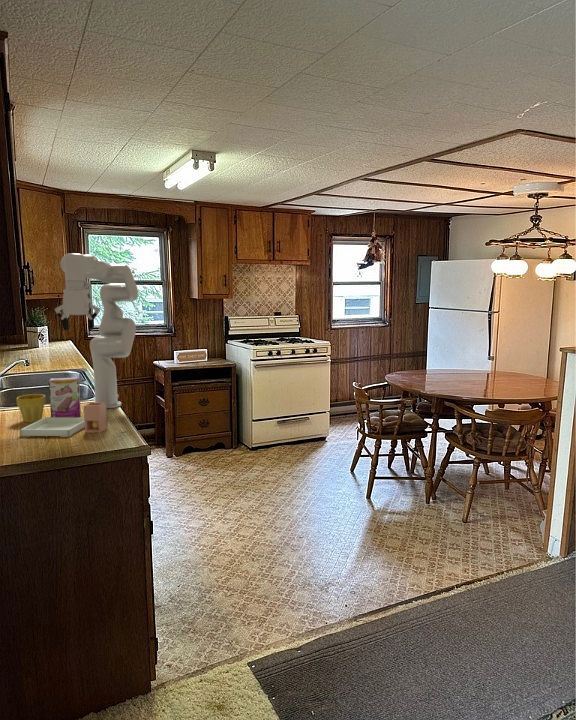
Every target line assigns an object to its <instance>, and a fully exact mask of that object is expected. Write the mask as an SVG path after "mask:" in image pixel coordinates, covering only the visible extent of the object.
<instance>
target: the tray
mask: <svg viewBox="0 0 576 720" xmlns="http://www.w3.org/2000/svg"><path fill="white" fill-rule="evenodd" d="M81 429H82V430H84V429H85V423H84V417H80V418H65V417H51V416H50V417H48V416H47V417H46V416H45V417H42V419H41V420H39V421H36V422H32V423H31V424H28V425H27V426H25V427H22V428H21V429H20V428H19V436H20V437H30V436H46V437H47V436H60V437H62V438H65V437H66V438H69V437H72V436H74V435H76V433H78V432H79V431H81ZM60 437H59V438H60Z"/></svg>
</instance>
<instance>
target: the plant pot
mask: <svg viewBox="0 0 576 720" xmlns="http://www.w3.org/2000/svg"><path fill="white" fill-rule="evenodd" d="M46 401H47V399H46V395H45V394H40V393H35V394H34V393H33V394H32V393H31V394H23V395H20V396H17V397H16V405H17V407H18V408H19V411H20V414H21V417H22V421H23V422H25V423H35V422H37V421H39V420H41V419H43V415H44V414H43V413H44V407H45V405H46V403H47V402H46Z"/></svg>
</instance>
